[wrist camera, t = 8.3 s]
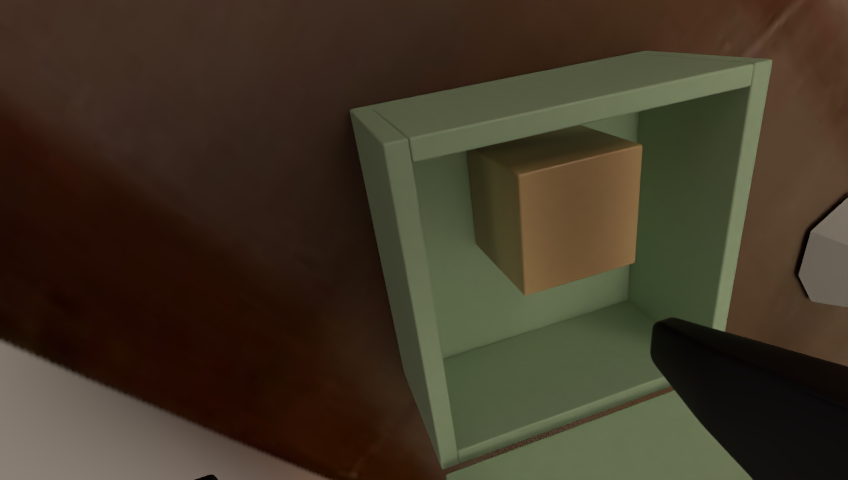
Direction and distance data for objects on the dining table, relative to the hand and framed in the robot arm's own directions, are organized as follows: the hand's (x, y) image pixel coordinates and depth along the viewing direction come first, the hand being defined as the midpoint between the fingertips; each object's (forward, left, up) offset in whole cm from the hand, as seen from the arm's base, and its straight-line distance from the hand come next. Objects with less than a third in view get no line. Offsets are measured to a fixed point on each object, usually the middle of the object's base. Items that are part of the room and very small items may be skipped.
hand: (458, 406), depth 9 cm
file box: (+7, -2, -11) cm, 13 cm away
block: (+7, 0, -10) cm, 12 cm away
